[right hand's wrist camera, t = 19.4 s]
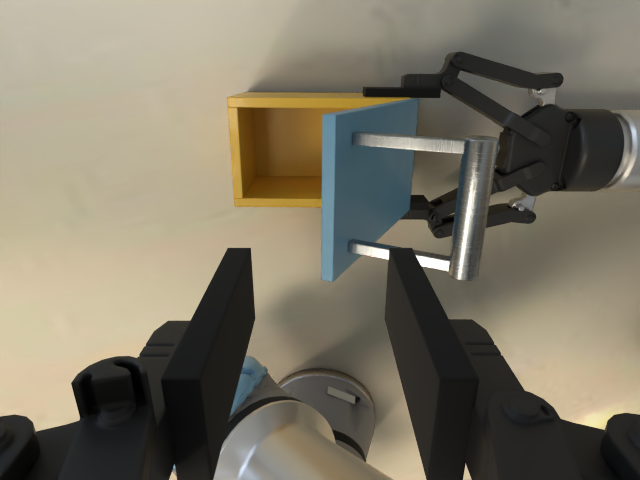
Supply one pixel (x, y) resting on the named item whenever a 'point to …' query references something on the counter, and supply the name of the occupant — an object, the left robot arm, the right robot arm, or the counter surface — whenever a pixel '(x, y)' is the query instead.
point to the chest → (283, 144)
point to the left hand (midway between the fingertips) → (361, 149)
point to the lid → (395, 187)
